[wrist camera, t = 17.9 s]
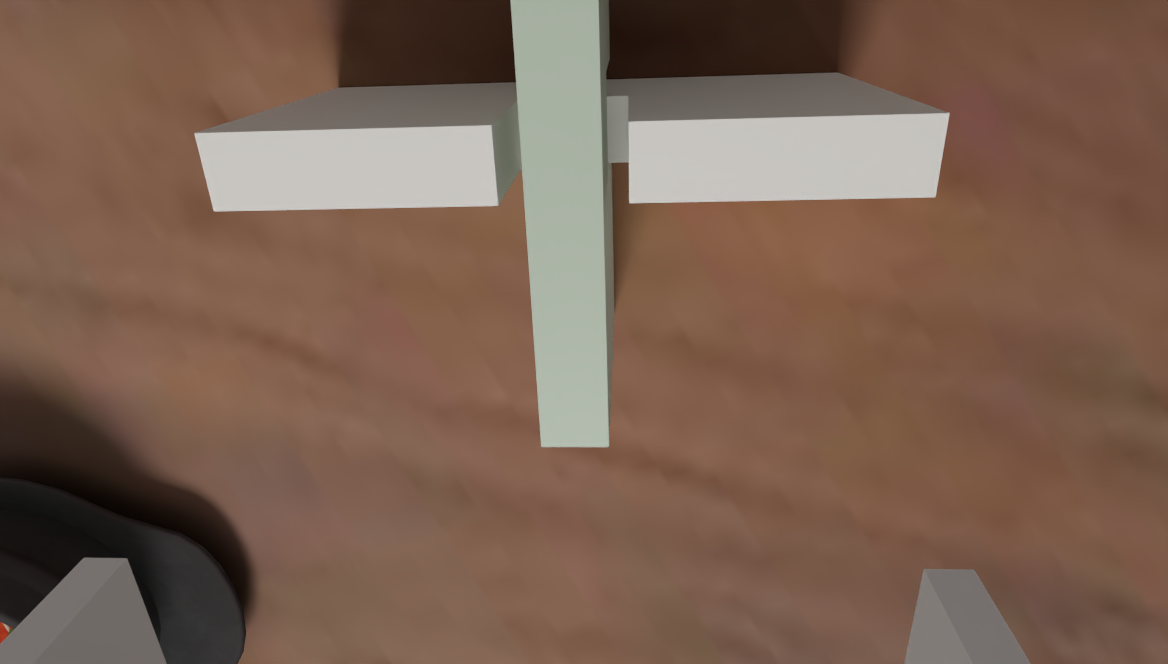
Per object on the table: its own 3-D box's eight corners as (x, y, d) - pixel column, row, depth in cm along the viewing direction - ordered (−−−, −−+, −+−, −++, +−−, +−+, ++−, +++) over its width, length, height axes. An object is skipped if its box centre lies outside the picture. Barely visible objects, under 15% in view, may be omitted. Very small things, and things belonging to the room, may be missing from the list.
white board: (837, 72, 31) (949, 112, 20) (831, 129, 32) (935, 197, 22) (338, 87, 33) (194, 133, 22) (347, 142, 34) (213, 211, 23)
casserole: (228, 464, 42) (140, 567, 34) (282, 691, 50) (220, 816, 42) (-184, 448, 43) (-358, 545, 36) (-69, 673, 51) (-191, 792, 43)
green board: (614, 313, 37) (608, 447, 26) (566, 313, 37) (541, 446, 26) (605, -161, 28) (592, -259, 17) (544, -158, 28) (493, -253, 18)
